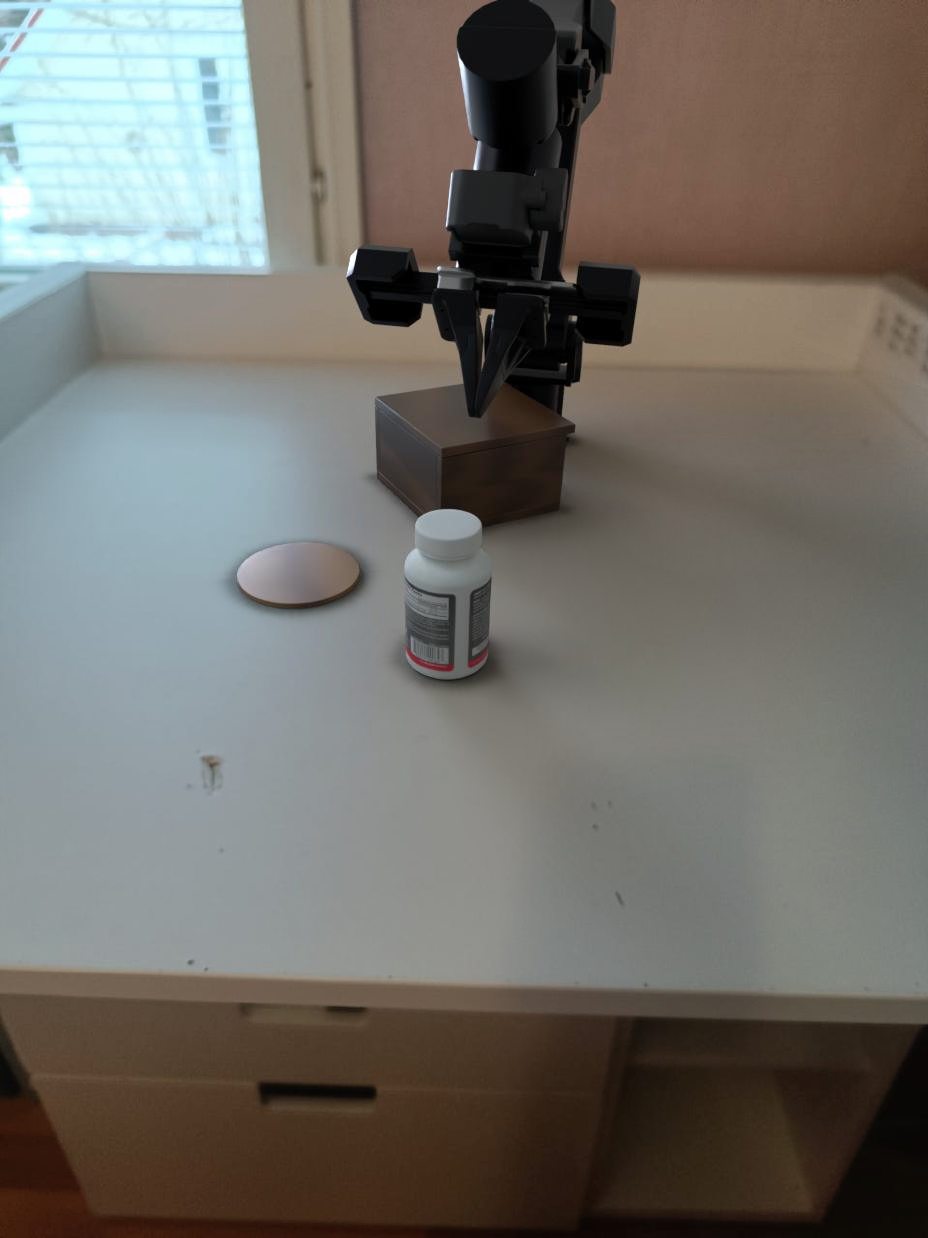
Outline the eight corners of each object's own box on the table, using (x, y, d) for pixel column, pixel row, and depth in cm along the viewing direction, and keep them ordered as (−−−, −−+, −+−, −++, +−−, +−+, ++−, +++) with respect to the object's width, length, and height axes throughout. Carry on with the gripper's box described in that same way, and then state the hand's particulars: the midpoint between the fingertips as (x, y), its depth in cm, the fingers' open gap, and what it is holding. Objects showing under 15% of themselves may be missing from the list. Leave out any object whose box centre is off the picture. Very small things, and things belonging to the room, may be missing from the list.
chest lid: (497, 386, 81) (497, 377, 81) (575, 433, 72) (576, 423, 72) (374, 405, 76) (374, 396, 76) (441, 458, 67) (441, 448, 67)
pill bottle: (465, 626, 60) (469, 497, 55) (502, 669, 56) (511, 534, 51) (392, 645, 58) (389, 512, 53) (425, 691, 54) (425, 552, 49)
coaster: (333, 537, 70) (333, 532, 70) (379, 590, 64) (379, 585, 64) (222, 561, 67) (221, 557, 66) (259, 620, 60) (258, 615, 60)
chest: (486, 456, 85) (489, 387, 81) (559, 509, 76) (567, 434, 72) (376, 477, 80) (374, 405, 76) (440, 537, 71) (441, 458, 67)
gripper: (348, 101, 53) (298, 338, 50) (662, 118, 50) (628, 369, 47) (385, 219, 64) (346, 420, 61) (645, 238, 61) (616, 449, 58)
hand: (474, 415), depth 57 cm, fingers closed
